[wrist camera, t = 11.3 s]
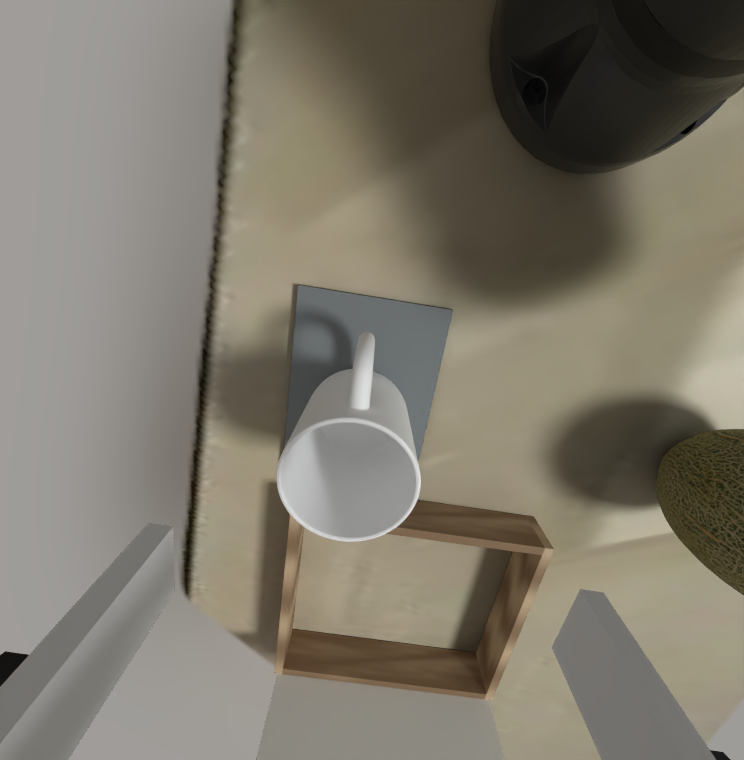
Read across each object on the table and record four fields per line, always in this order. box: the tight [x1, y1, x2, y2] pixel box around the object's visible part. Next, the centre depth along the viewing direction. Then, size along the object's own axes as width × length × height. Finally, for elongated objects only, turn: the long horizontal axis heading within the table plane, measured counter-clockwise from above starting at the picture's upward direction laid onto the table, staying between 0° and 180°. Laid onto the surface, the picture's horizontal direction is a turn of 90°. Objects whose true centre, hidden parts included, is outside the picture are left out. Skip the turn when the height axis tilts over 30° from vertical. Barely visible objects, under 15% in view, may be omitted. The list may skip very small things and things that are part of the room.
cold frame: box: [274, 500, 554, 700], centre depth 34 cm, size 20×23×4 cm
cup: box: [276, 332, 421, 542], centre depth 24 cm, size 8×12×10 cm
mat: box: [284, 285, 453, 461], centre depth 29 cm, size 16×12×1 cm
